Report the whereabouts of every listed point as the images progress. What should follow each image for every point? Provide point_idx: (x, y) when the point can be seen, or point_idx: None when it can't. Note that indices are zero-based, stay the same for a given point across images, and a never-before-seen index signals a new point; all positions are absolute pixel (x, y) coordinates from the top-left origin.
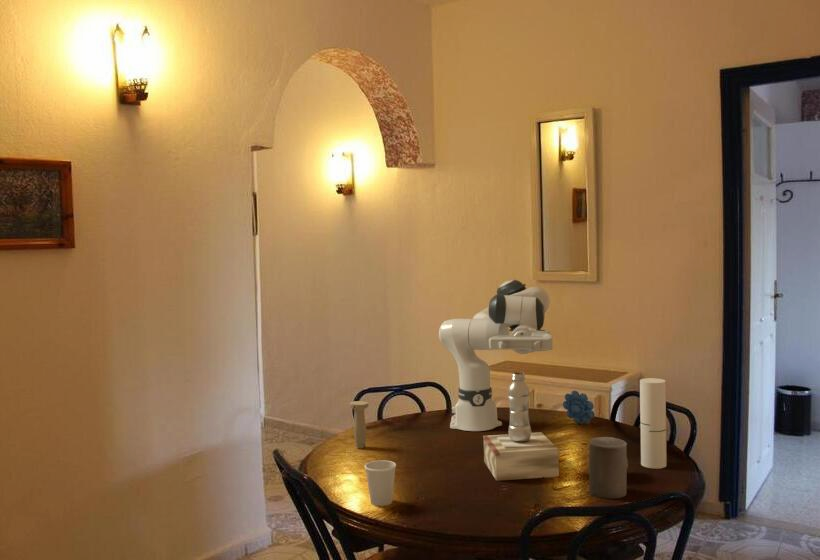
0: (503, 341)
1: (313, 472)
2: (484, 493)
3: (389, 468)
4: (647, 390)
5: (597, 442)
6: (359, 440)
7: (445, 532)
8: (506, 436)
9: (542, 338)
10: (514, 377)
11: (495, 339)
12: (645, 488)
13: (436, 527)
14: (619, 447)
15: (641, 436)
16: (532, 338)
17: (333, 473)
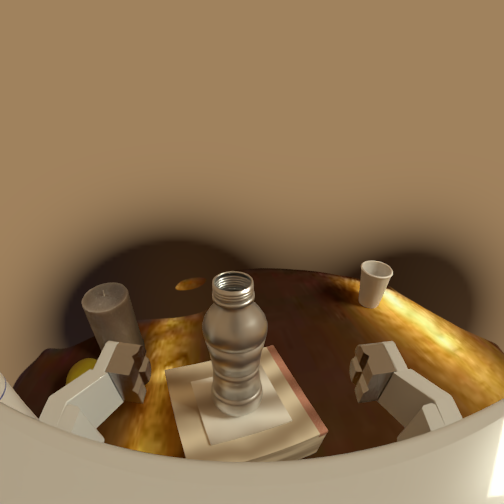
0: (427, 427)
1: (480, 340)
2: (275, 335)
3: (362, 263)
4: None
5: (118, 292)
6: None
7: (284, 270)
8: (274, 436)
9: (8, 417)
10: (243, 280)
11: (494, 403)
12: (78, 357)
13: (294, 274)
14: (99, 285)
15: (18, 404)
16: (89, 452)
17: (465, 344)
